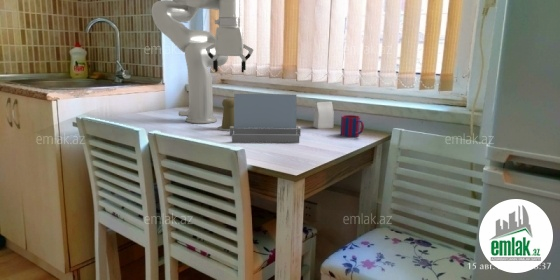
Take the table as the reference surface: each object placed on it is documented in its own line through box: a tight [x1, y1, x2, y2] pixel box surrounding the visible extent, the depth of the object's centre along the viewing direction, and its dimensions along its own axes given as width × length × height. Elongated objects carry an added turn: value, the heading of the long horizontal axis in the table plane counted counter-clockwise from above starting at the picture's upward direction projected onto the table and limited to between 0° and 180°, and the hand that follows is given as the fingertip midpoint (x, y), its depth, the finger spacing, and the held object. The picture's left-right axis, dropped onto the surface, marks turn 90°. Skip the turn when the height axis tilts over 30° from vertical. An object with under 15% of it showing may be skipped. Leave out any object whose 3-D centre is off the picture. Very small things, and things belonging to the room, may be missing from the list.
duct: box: [229, 126, 302, 144], centre depth 141 cm, size 12×25×3 cm, turn 93°
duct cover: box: [233, 93, 297, 128], centre depth 147 cm, size 12×22×1 cm
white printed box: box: [313, 101, 335, 130], centre depth 161 cm, size 4×7×10 cm, turn 114°
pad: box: [216, 125, 230, 132], centre depth 157 cm, size 10×10×1 cm
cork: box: [221, 98, 234, 129], centre depth 156 cm, size 6×6×11 cm
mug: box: [339, 114, 365, 138], centre depth 147 cm, size 7×10×7 cm
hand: (229, 71), depth 152 cm, fingers open, 9 cm apart
